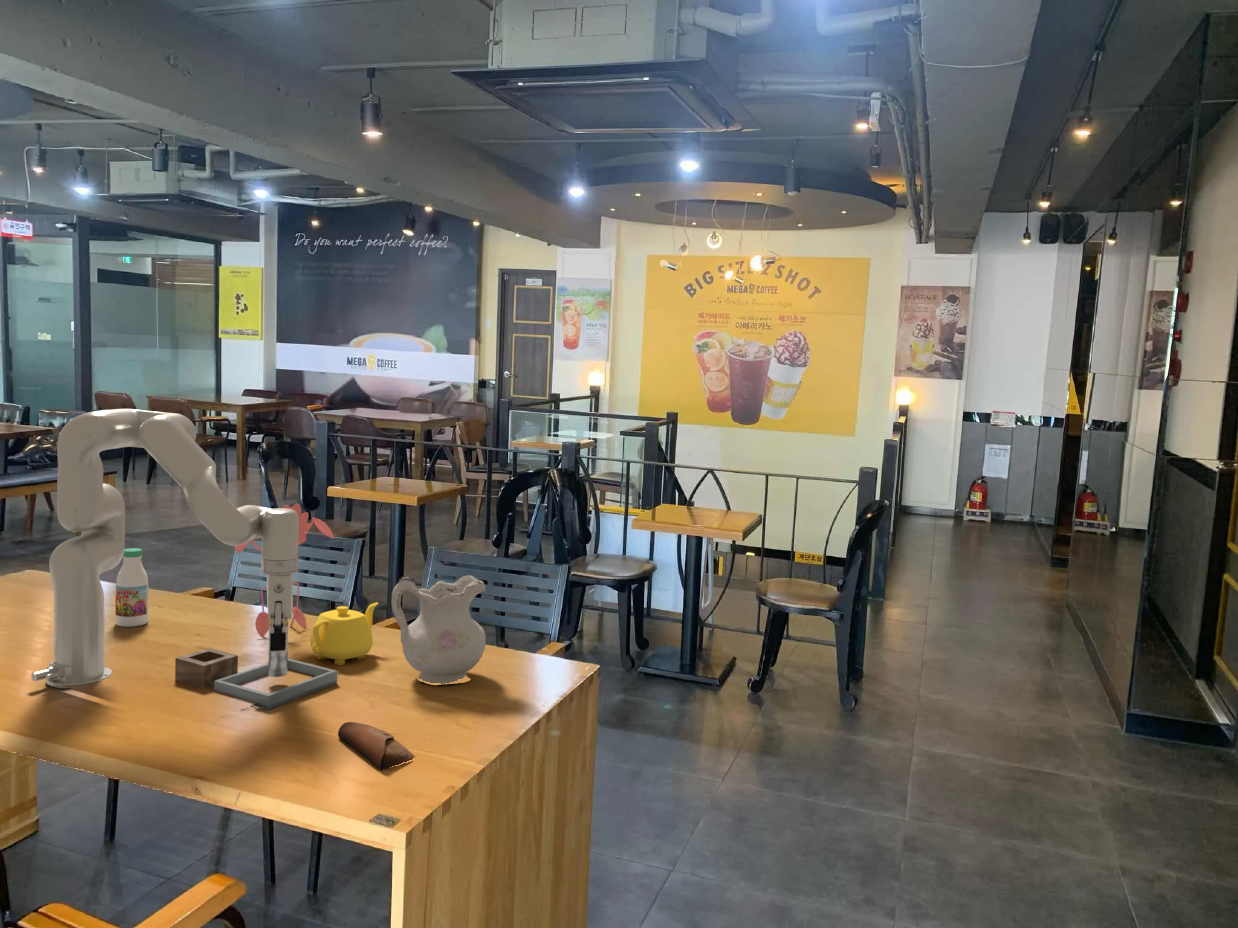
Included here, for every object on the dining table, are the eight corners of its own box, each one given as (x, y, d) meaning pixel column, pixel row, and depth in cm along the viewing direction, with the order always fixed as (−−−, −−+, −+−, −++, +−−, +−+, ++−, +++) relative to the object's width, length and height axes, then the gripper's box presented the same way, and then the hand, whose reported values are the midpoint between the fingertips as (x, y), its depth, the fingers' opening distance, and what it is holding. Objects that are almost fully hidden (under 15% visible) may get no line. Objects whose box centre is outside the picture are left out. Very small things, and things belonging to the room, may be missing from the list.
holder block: (203, 692, 203) (204, 665, 202) (175, 684, 206) (175, 657, 206) (237, 681, 211) (237, 655, 210) (209, 673, 215) (209, 647, 214)
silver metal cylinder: (277, 678, 204) (278, 619, 203) (264, 674, 206) (265, 616, 205) (291, 673, 208) (292, 615, 207) (278, 669, 210) (279, 613, 208)
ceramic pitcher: (406, 702, 207) (414, 594, 203) (377, 669, 223) (383, 568, 219) (495, 689, 219) (504, 586, 215) (461, 658, 235) (469, 562, 231)
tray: (268, 709, 195) (268, 695, 195) (213, 694, 202) (214, 680, 202) (336, 683, 213) (337, 670, 213) (284, 669, 220) (285, 657, 219)
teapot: (294, 659, 228) (295, 608, 227) (358, 642, 244) (360, 594, 243) (331, 672, 220) (333, 619, 219) (395, 653, 237) (397, 604, 236)
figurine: (224, 636, 242) (228, 502, 238) (317, 621, 261) (322, 497, 257) (250, 652, 232) (255, 513, 228) (345, 635, 250) (351, 506, 246)
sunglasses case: (422, 759, 175) (406, 734, 172) (392, 786, 171) (376, 761, 168) (376, 728, 188) (361, 704, 185) (348, 753, 185) (332, 728, 182)
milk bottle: (118, 619, 252) (119, 546, 250) (150, 619, 254) (151, 546, 252) (112, 627, 244) (112, 552, 242) (145, 627, 247) (145, 552, 245)
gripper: (297, 573, 198) (295, 658, 200) (297, 557, 214) (296, 635, 215) (259, 574, 195) (258, 659, 197) (262, 557, 211) (261, 636, 213)
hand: (278, 646), depth 206 cm, fingers closed on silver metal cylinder, 4 cm apart
